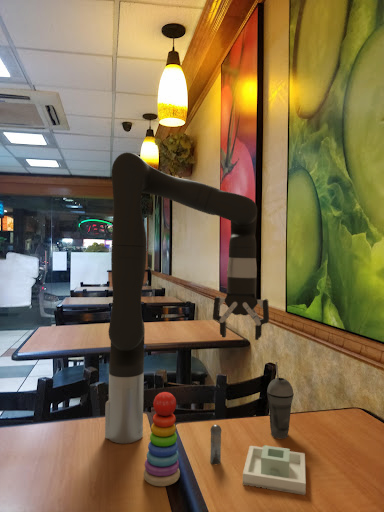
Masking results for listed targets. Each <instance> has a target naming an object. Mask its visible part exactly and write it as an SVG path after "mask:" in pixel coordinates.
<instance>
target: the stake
mask: <svg viewBox="0 0 384 512" xmlns="http://www.w3.org/2000/svg"><path fill="white" fill-rule="evenodd" d="M221 444H222V428H221V425H219V424H213V425H212V426H211V428H210V464H212V465H215V464H217V465H220V464H221V458H222V453H221V452H222V450H221V449H222V447H221V446H222V445H221Z"/></svg>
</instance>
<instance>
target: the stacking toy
mask: <svg viewBox="0 0 384 512" xmlns="http://www.w3.org/2000/svg"><path fill="white" fill-rule="evenodd" d="M152 404H153V405H152V406H153V409H154V412H155V414H154V415H153V417H152V424H151V427H150V431H151V433H150V435H149V442H148V445H147V448H148V451H147V453H146V459H145V462H144V471H143V478H144V480H145V481H146V482H147V483H148V484H150V485H151V486H155V487H167V486H171V485H173V484H175V483H176V482H177V481H178V480H179V478H180V477H181V476H180V475H181V471H180V467H179V466H180V464H179V451H178V443H177V440H178V435H177V432H176V431H177V427H176V425H175V423H176V421H177V419H176V416H175V414H174V412H175V411H176V407H177V400H176V397H175V396H174V395H173V394H172V393H171V392H169V391H162V392H159V393H158V394H157V395H155V397H154V399H153V403H152Z"/></svg>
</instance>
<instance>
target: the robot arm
mask: <svg viewBox="0 0 384 512" xmlns="http://www.w3.org/2000/svg"><path fill="white" fill-rule="evenodd" d="M111 183H112V184H111V185H112V195H113V215H112V230H111V231H112V233H111V234H112V237H111V250H110V251H111V254H110V256H111V259H110V260H111V261H110V262H111V263H110V265H111V286H112V303H111V314H110V320H109V325H108V326H109V327H108V338H109V340H110V349H109V350H110V353H109V362H108V400H107V401H106V402H105V406H104V407H105V409H104V410H105V414H104V417H105V418H104V420H105V422H104V439H108V440H109V441H111V442H113V443H116V444H130V443H131V444H132V443H135V442H137V441H139V440H141V439H142V437H143V435H144V434H143V431H144V425H143V424H144V375H145V374H144V371H145V369H144V368H145V367H144V366H145V333H146V332H145V322H144V320H143V315H142V314H143V313H142V292H143V287H144V281H145V274H146V268H147V267H146V265H147V244H148V243H147V234H146V228H145V222H144V218H143V212H142V194H146V195H147V194H148V195H153V196H156V197H157V196H158V197H161V198H164V199H167V200H169V201H172V202H175V203H178V204H180V205H183V206H185V207H187V208H191V209H192V210H193V209H194V210H196V211H198V212H201V213H204V214H207V215H211V216H218V217H220V218H222V219H226V220H228V221H230V238H229V244H228V261H227V267H226V268H227V270H226V276H227V278H226V297H221V296H219V295H218V296H216V297H214V301H213V310H212V312H213V313H212V319H213V320H215V321H217V322H219V335H221V337H222V338H226V337H227V325H228V323H227V322H226V321H227V319H229V317H230V316H231V315H234V316H239V315H242V316H248V315H249V316H250V318H251V319H252V320H253V322H254V323H255V326H254V327H255V330H254V332H255V333H254V334H255V336H254V340H255V341H259V340H260V339H261V337H262V328H263V325H265V324H268V323H269V321H270V310H269V309H270V308H269V299H267V298H264V299H258V298H257V271H258V268H257V267H258V266H257V239H256V231H257V219H258V206H257V203H256V202H255V201H254V200H253V199H252V198H250V197H247V196H246V195H245V196H244V195H242V194H238V193H233V192H229V191H225V190H221V189H220V188H217V187H215V186H211V185H209V184H206V183H202V182H199V181H197V180H191V179H187V178H181V177H177V176H173V175H170V174H167V173H165V172H162V171H160V170H159V169H157V168H154V167H152V166H151V165H149V164H148V163H147V162H146V161H145V160H144V159H143V158H142V157H140V156H139V155H138V154H136V153H133V152H127V151H126V152H123V153H120V154H119V155H117V157H116V158H115V160H114V161H113V164H112V167H111ZM224 303H225V306H227V310H226V311H225V312H224V313H223V315H222V316H221V315H220V314H221V313H220V312H221V306H222V305H223V304H224ZM258 305H259V307H260V308H261V309H262V313H263V314H262V316H263V317H262V318H261V317H260V316H259V315H258V313H257V311H256V310H255V308H256V307H257V306H258Z"/></svg>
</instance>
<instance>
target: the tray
mask: <svg viewBox="0 0 384 512" xmlns="http://www.w3.org/2000/svg"><path fill="white" fill-rule="evenodd" d="M262 451H263V446H256V445H249V447H248V451H247V456H246V459H245V464H244V468H243V471H242V485H243V484H244V485H243V486H248V485H249V487H254V486H256V487H255V488H260V487H262V488H261V489H266V488H267V490H272V491H278V492H284V493H285V492H286V493H291V494H295V495H296V494H297V495H303V496H306V489H307V488H306V485H307V483H306V481H307V480H306V456H305V455H306V453H305V452H297V451H293V450H291V451H290V464H289V478H284V477H278V476H271V475H265V474H261V456H262Z"/></svg>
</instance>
